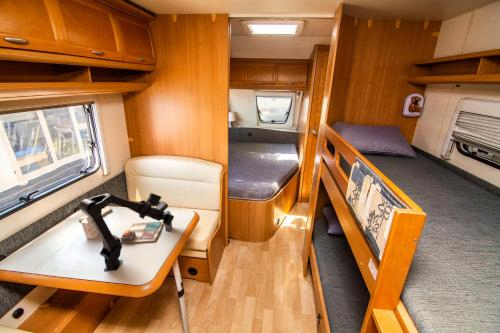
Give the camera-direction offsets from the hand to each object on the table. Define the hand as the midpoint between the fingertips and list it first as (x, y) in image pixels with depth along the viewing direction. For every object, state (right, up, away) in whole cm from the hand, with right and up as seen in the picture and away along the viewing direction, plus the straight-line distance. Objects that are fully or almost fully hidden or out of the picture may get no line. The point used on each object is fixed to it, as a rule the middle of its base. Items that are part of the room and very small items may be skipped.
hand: (169, 219), depth 144 cm
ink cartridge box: (-45, -9, -3) cm, 46 cm away
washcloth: (-58, -2, +17) cm, 61 cm away
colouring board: (-15, -8, -2) cm, 17 cm away
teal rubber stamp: (-1, -7, +1) cm, 7 cm away
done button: (-21, -8, -9) cm, 25 cm away
